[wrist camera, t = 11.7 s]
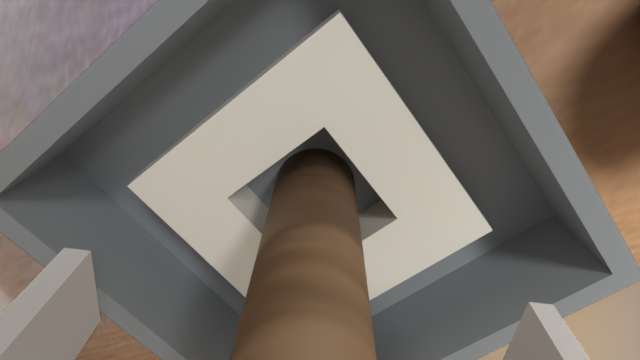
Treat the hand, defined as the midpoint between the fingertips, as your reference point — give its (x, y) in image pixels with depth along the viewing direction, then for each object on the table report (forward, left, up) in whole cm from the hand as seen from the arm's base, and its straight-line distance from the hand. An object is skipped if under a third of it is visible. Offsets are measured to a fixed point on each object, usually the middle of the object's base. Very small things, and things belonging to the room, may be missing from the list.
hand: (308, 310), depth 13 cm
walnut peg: (0, 0, -10) cm, 10 cm away
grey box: (0, 0, -11) cm, 11 cm away
